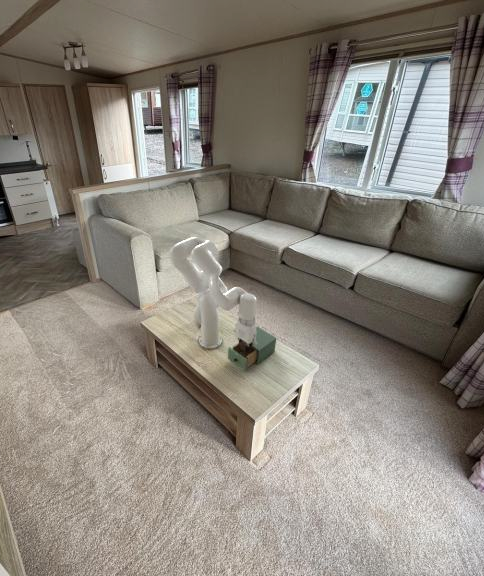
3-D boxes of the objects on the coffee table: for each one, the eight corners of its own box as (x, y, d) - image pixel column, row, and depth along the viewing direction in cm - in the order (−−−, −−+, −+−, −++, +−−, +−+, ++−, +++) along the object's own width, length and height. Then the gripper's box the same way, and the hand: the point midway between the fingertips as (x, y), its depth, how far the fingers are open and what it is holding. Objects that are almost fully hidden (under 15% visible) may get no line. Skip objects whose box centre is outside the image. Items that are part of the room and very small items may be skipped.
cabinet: (257, 364, 150) (259, 350, 145) (239, 350, 159) (239, 337, 154) (274, 351, 157) (276, 338, 153) (256, 339, 166) (257, 326, 161)
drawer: (242, 372, 145) (243, 361, 141) (226, 359, 152) (226, 349, 148) (261, 358, 152) (262, 348, 148) (244, 347, 160) (245, 336, 156)
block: (238, 348, 149) (239, 342, 146) (244, 344, 151) (244, 338, 149) (245, 352, 146) (245, 346, 144) (250, 348, 148) (250, 342, 146)
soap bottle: (209, 311, 189) (209, 270, 174) (222, 319, 182) (223, 277, 166) (189, 322, 181) (186, 280, 165) (201, 331, 173) (200, 288, 157)
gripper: (228, 314, 142) (227, 343, 152) (255, 330, 131) (252, 361, 141) (238, 307, 146) (237, 336, 156) (266, 323, 135) (262, 353, 145)
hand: (244, 347), depth 148 cm, fingers closed on block, 4 cm apart
